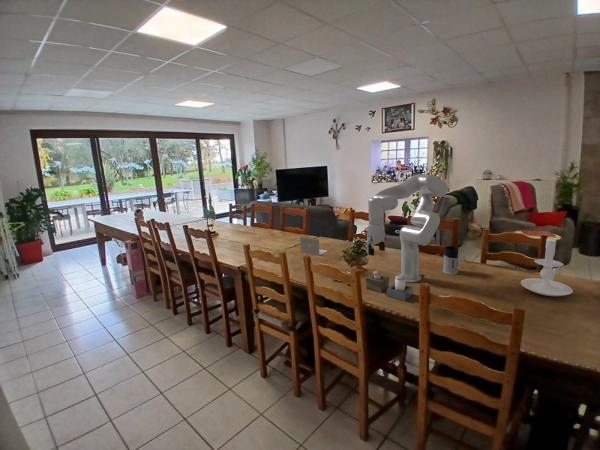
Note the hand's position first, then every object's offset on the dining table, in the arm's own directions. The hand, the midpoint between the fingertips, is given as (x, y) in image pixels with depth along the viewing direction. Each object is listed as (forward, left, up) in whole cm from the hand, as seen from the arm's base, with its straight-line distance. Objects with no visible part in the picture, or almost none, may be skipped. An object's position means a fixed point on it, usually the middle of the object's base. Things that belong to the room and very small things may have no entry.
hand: (376, 252), depth 166 cm
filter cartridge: (-1, +12, -22) cm, 25 cm away
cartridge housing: (-1, +12, -22) cm, 25 cm away
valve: (+1, -22, -22) cm, 31 cm away
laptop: (-36, -74, -22) cm, 85 cm away
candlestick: (-47, +69, -22) cm, 87 cm away
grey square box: (-3, -2, -22) cm, 22 cm away
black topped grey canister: (-47, +25, -22) cm, 58 cm away
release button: (-3, -2, -19) cm, 19 cm away
